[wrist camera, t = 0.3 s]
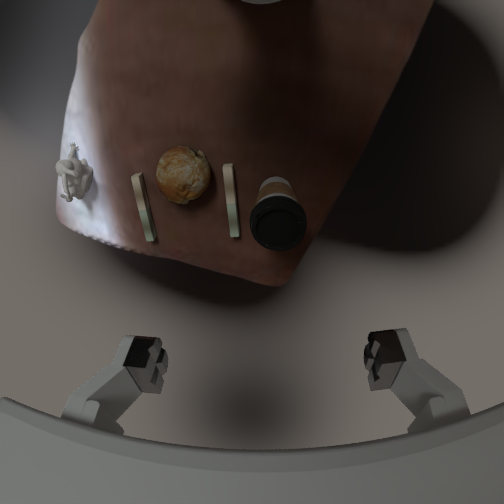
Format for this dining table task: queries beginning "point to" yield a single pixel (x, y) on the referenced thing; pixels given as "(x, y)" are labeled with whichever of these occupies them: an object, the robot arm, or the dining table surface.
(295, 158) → the dining table surface
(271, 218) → the coffee cup
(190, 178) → the bread roll
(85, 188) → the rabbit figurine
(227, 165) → the channel
